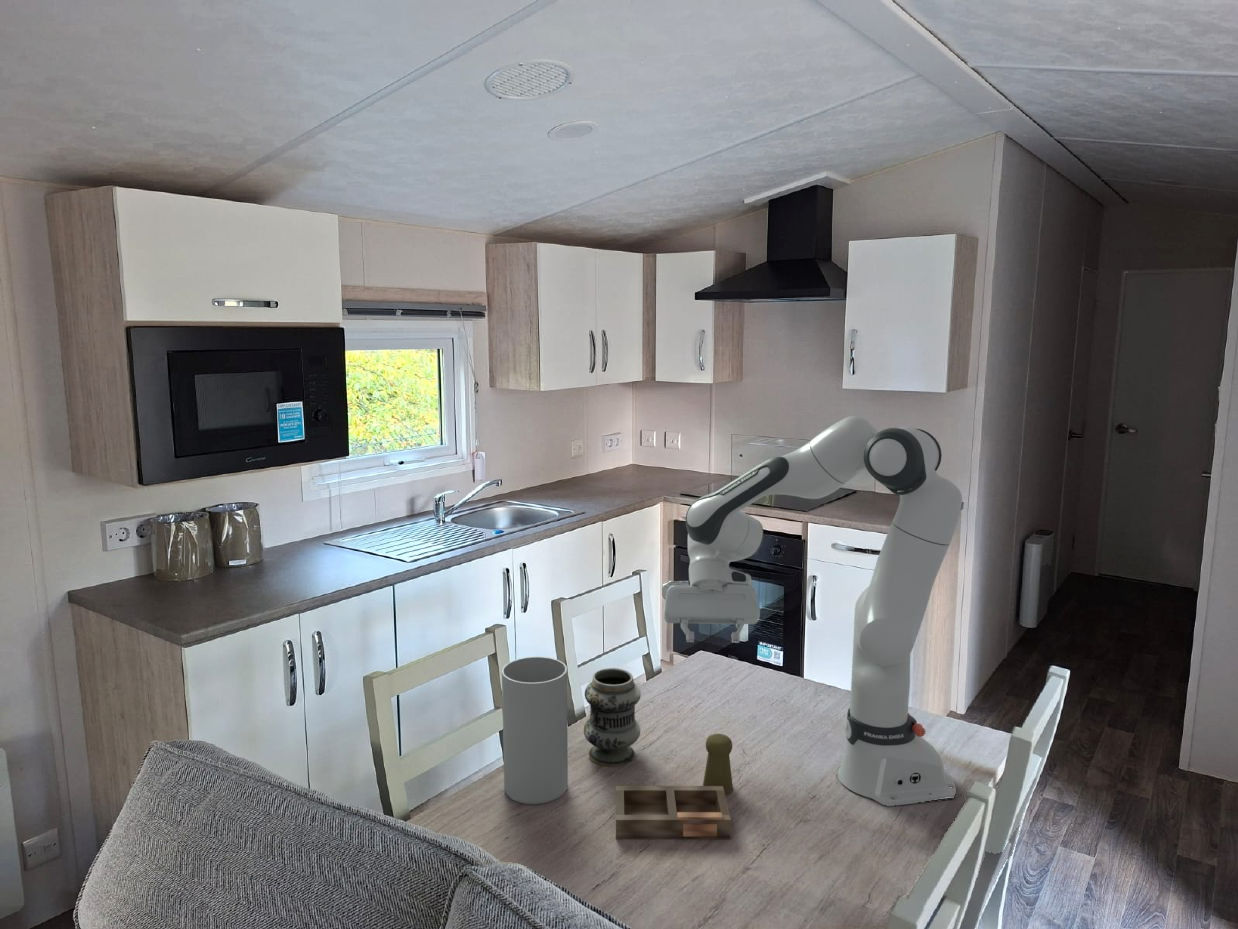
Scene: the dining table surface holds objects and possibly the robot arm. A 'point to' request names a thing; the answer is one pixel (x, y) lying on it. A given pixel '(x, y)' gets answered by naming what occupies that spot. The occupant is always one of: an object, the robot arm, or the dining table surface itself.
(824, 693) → the dining table surface
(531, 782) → the cylinder vase
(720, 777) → the olive round-topped post
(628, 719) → the apothecary jar
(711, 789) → the spice rack
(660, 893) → the dining table surface
